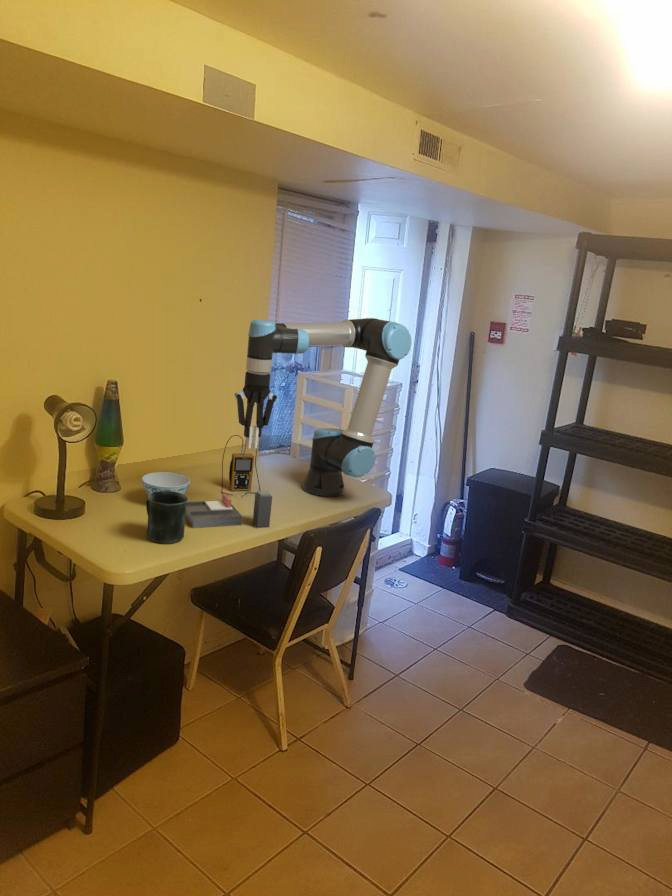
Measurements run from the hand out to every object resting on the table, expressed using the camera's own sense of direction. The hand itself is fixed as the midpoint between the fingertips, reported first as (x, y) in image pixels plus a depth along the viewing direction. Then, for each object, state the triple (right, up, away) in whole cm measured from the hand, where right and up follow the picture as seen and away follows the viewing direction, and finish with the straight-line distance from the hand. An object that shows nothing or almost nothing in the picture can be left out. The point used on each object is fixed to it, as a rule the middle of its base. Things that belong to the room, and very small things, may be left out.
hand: (251, 447), depth 215 cm
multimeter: (-6, -16, +26) cm, 31 cm away
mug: (-23, -25, -18) cm, 39 cm away
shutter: (-10, -19, +1) cm, 21 cm away
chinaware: (-29, -18, +9) cm, 35 cm away
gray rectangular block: (+3, -24, -1) cm, 24 cm away
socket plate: (-12, -22, 0) cm, 25 cm away
